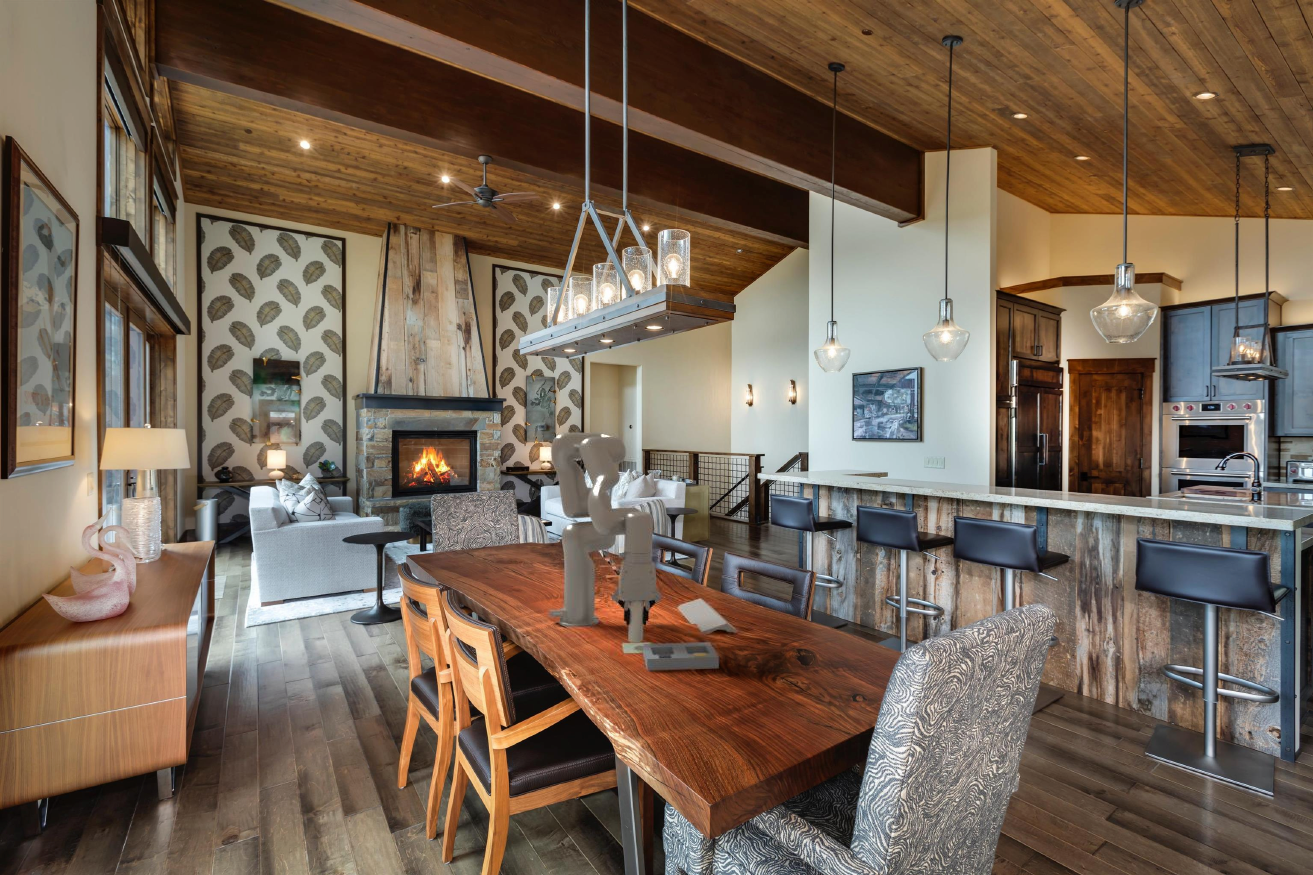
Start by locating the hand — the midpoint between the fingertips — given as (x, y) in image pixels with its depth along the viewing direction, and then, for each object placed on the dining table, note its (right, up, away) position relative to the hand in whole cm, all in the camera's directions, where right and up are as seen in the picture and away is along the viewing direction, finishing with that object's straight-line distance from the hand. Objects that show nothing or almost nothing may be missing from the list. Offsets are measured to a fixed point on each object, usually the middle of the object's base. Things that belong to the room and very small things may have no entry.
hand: (636, 622), depth 171 cm
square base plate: (0, -8, -1) cm, 8 cm away
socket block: (+12, -8, -10) cm, 17 cm away
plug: (0, -5, 0) cm, 5 cm away
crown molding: (+22, -9, +31) cm, 39 cm away
